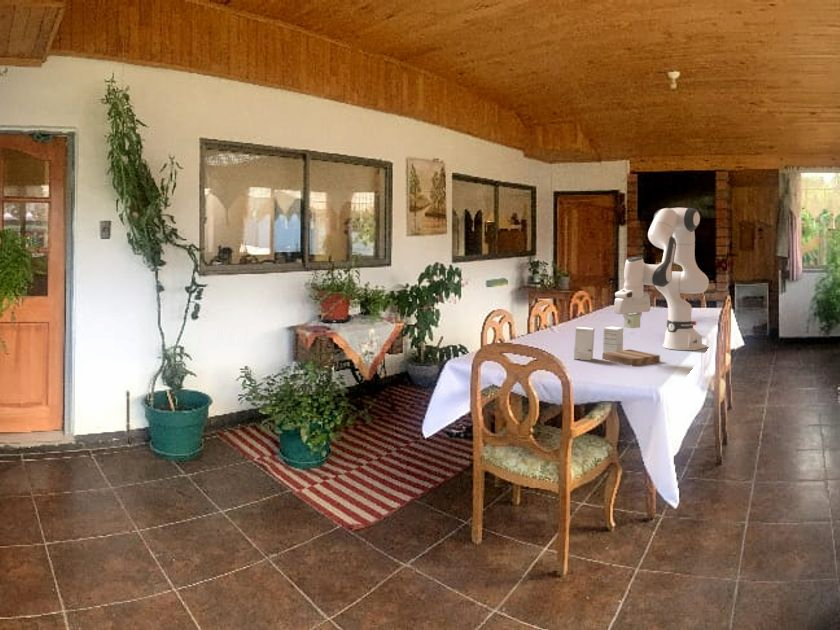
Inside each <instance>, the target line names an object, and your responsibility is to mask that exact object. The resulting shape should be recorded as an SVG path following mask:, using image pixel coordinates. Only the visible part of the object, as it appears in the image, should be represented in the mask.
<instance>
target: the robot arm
mask: <svg viewBox="0 0 840 630" xmlns="http://www.w3.org/2000/svg"><path fill="white" fill-rule="evenodd" d="M700 221H701V215H700V213H699V211H698V209H696V208H693V207H670V208H669V207H665V208H659V209H658V210H657V211H656V212H655V213H654V215H653V220H652V222H651V223H650V227H649V229H648V232H647V238H648V240H649V242H650V243H651V244H652V246H654V247H656V248H659V249H661V250H663V254H662V255H663V256H662V259H661V262H660V263H658V264H652V263H651V264H649V263H645V262H644V259H643V257H640V256H633V257H632V256H631V257H628V258H626V260H625V263H624V271H623V278H624V282H623V288H621V289H620V290H618V291H616V292H615V293H614V296H615V299H614V304H613V305H614V306H613V312H614V313H615V314H616V315H622V317H623V320H624V319H625V323H630V319H628V316H629V314H631V313H633V314H640V315H641V316H640V318H641V317H642V315H643V313H649V312H650V311H651V298H650V294H649V293H648V292H647V291H644V285H645V286H654V287H655V288H656V290H658V292H660V293H661V294H662V295H663V297H664V298H665V300H666V304H667V314H668V315H667V320H666V328H667V329H666V330H665V334H664V342H663V343H662V346H663V348H665V349H669V350H678V351H692V350H693V351H698V350H701V349H706V348H708V346H707V345H706V344H704V343H703V339H702V335H701V334H700V333H699V332H698V331H697V330H696V329H695V328H694V326H697V323H698V322H697V320H692V314H693V313H692V310H693V308H692V304H691V303H690V302H688V301H686V300H685V299H683V298H682V297H681V294H689V295H690V294H691V295H692V294H693V295H695V294H697V295H698V294H702V293H703V294H704V293H705V292H706V291H707V290H708V288H709V286H710V285H709V284H710V281H709V280H710V279H709V278H708V276H707V275H706V274H705V272H703V271H702V270H701V269H700V268H699V267H698V266H699V265H698V264H697V262H696V256H695V249H696V247H695V246H696V243H695V242H696V235H695V234H696V233H695V230H696V229H697V228H698V227H699V225H700ZM674 263H675V264H676V265H679V267H681V268H682V271H675V270H674V271H673V266H674Z"/></svg>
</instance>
